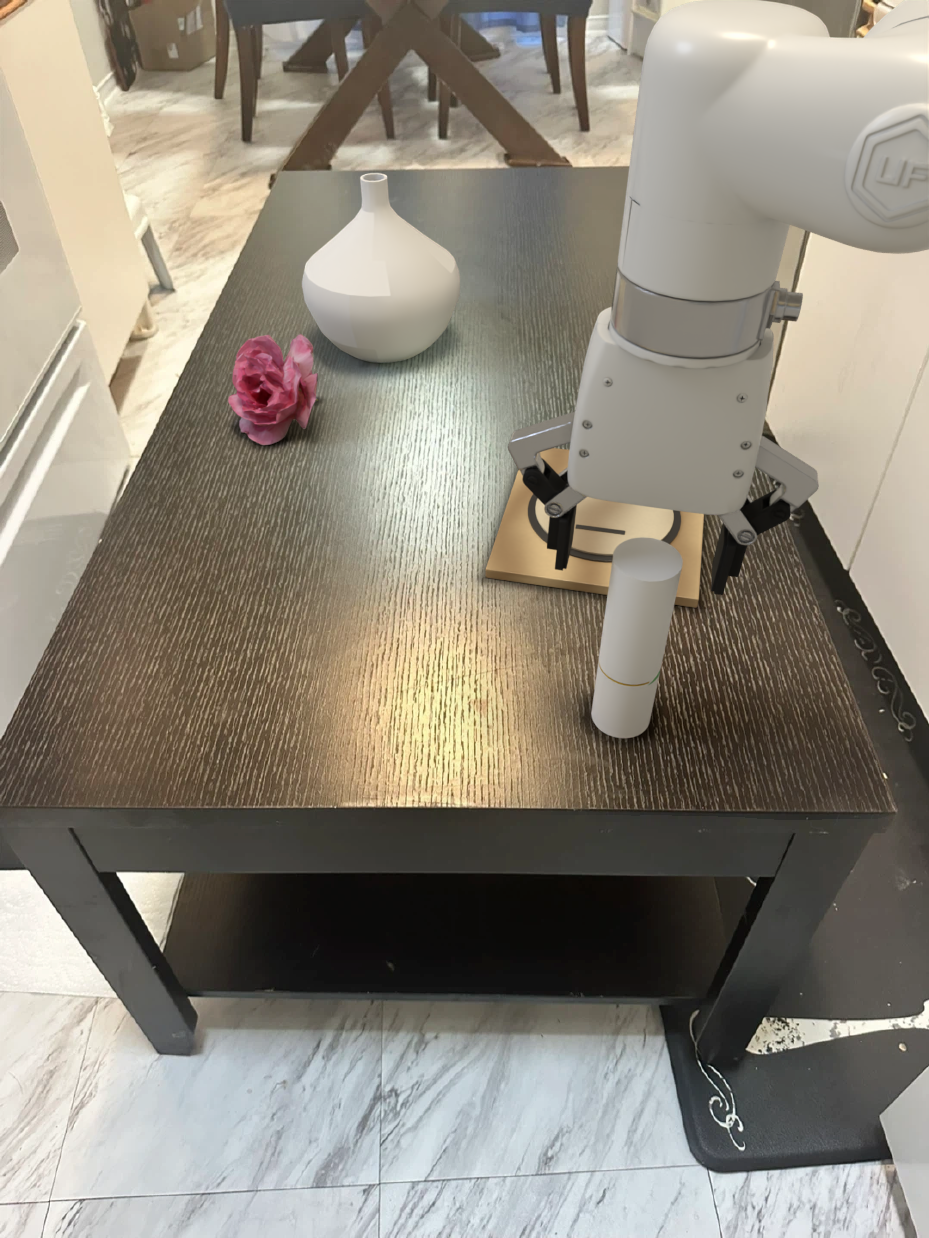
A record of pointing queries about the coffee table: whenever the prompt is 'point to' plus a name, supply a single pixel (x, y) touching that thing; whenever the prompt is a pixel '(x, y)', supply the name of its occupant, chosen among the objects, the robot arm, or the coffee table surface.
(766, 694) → the coffee table surface
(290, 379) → the flower
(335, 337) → the vase
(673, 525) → the drawing board
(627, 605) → the tube
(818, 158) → the robot arm
